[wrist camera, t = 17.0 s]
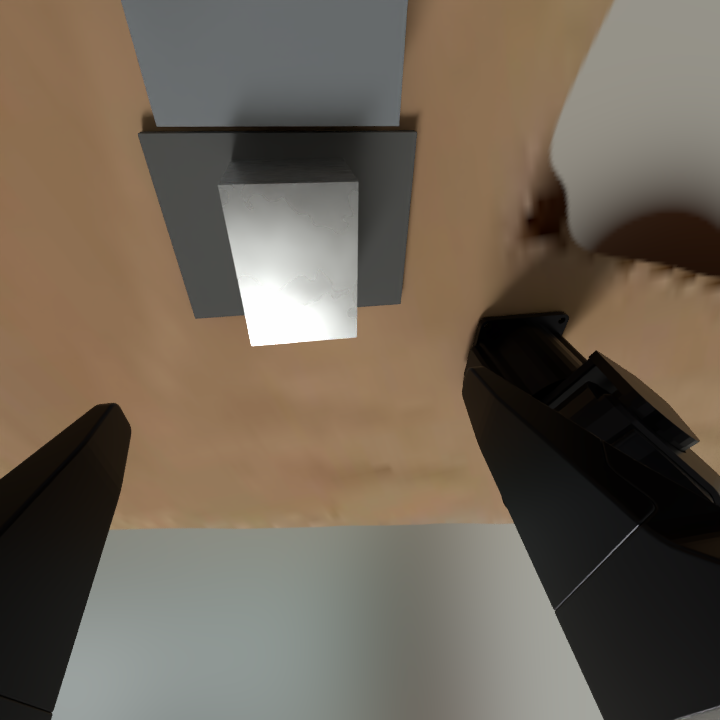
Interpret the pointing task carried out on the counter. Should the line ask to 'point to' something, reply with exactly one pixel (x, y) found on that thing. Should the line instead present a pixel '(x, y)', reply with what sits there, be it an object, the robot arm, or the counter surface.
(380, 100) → the body
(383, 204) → the rubber mat
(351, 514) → the counter surface
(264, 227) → the lever cap
